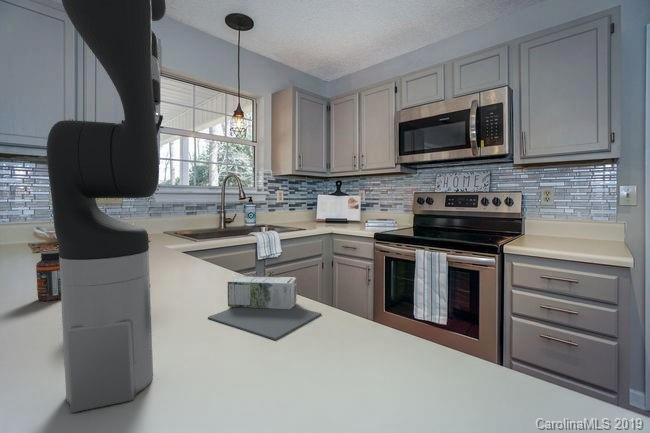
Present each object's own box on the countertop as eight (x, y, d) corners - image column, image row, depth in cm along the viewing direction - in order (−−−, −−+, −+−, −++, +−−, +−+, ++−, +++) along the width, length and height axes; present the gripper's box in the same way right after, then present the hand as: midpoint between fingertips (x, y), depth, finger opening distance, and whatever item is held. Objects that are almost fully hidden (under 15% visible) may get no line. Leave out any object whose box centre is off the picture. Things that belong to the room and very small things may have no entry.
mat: (207, 318, 64) (207, 316, 64) (258, 299, 75) (258, 298, 75) (275, 340, 54) (275, 338, 54) (321, 314, 66) (321, 313, 66)
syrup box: (236, 299, 75) (297, 301, 74) (226, 307, 69) (292, 309, 68) (236, 275, 75) (297, 276, 73) (226, 281, 69) (292, 283, 67)
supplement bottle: (31, 300, 75) (28, 253, 74) (58, 293, 81) (56, 249, 80) (49, 303, 73) (46, 254, 73) (76, 295, 79) (73, 250, 78)
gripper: (174, 78, 67) (177, 161, 68) (141, 90, 74) (144, 164, 75) (137, 66, 61) (141, 157, 62) (105, 80, 68) (109, 161, 69)
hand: (142, 161), depth 69 cm, fingers closed
